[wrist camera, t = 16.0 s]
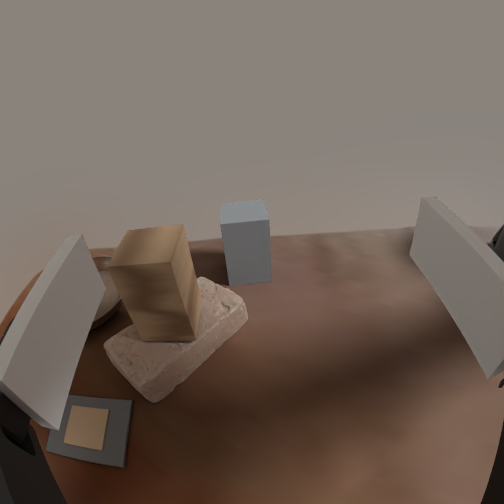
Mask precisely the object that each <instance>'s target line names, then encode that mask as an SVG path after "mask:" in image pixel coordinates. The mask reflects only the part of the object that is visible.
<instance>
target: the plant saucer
mask: <svg viewBox="0 0 504 504" xmlns="http://www.w3.org/2000/svg"><path fill="white" fill-rule="evenodd" d="M111 258H112V256H95V257H92V259H93V261H94V263H95V265H96V268H97V270H98V272H99V274H100V277H101V279H102V281H103V283H104V285H105V287H106V290H105V292H104V295H103V297H102V299H101V302H100V304H99V307H98V309H97V312H96V314H95V317H94V320H93V322H92V325H91V327H90V330H92V329H95V328H96V327H98V326H100V325H101V324H103V323H104V322H106V321H107V320H108V319H109V318H110V317H112V316H113V315H114V314H115V312H116V311H117V310H118V309H119V307H120V306H121V304H122V302H123V301H122V299H121V297H120V295H119V293H118V291H117V289H116V286H115V284H114V282H113V280H112V278H111V275H110V273H109V271H108V269H107V265H108V264H109V262H110V260H111ZM90 330H89V331H90Z"/></svg>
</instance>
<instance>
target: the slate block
mask: <svg viewBox="0 0 504 504" xmlns="http://www.w3.org/2000/svg"><path fill="white" fill-rule="evenodd" d="M220 224H221V232H222V239H223V246H224V253H225V259H226V266H227V273H228V279H229V286H236V285H246V284H255V283H265V282H272V274H271V250H270V227H269V217H268V214H267V210H266V206H265V203H264V200H252V201H241V202H232V203H223V204H221V222H220Z"/></svg>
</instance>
